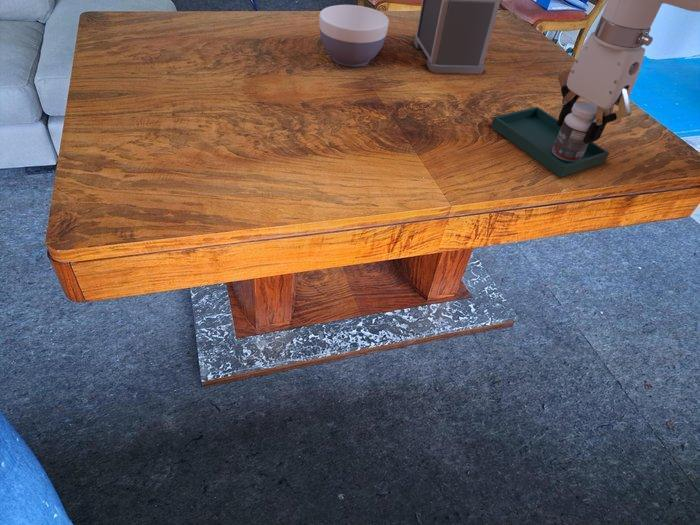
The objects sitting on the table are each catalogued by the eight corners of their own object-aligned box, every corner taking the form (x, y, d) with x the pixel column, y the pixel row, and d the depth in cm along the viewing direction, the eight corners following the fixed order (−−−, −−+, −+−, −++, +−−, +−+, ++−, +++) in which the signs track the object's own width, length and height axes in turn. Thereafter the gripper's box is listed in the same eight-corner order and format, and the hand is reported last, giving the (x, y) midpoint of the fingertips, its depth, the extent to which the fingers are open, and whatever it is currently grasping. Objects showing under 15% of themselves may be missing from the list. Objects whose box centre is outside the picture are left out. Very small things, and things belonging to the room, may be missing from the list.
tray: (604, 163, 97) (609, 152, 96) (560, 177, 92) (565, 166, 91) (533, 116, 109) (536, 106, 107) (490, 127, 104) (493, 116, 102)
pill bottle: (549, 144, 99) (569, 97, 93) (579, 149, 99) (600, 102, 92) (552, 160, 95) (573, 111, 88) (583, 165, 95) (606, 117, 88)
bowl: (394, 57, 125) (400, 16, 118) (364, 79, 114) (369, 36, 108) (338, 40, 129) (340, -1, 123) (304, 60, 119) (305, 17, 112)
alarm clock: (483, 73, 122) (506, -9, 109) (431, 72, 120) (448, -12, 107) (460, 43, 135) (478, -34, 122) (412, 41, 133) (426, -37, 120)
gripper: (682, 50, 78) (627, 152, 90) (594, 11, 88) (555, 108, 101) (651, 57, 75) (599, 161, 87) (564, 16, 85) (528, 114, 97)
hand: (576, 132), depth 94 cm, fingers closed on pill bottle, 5 cm apart
